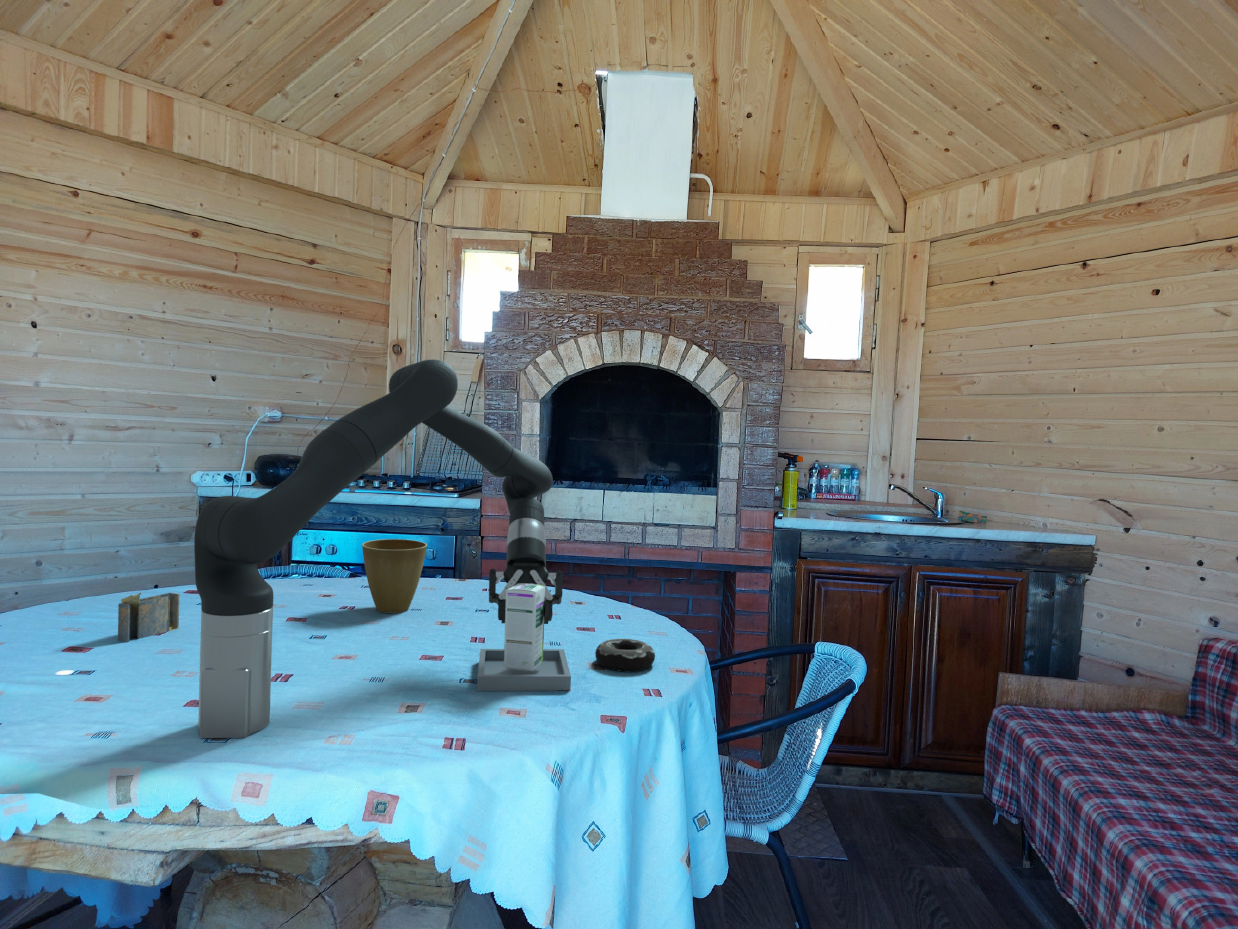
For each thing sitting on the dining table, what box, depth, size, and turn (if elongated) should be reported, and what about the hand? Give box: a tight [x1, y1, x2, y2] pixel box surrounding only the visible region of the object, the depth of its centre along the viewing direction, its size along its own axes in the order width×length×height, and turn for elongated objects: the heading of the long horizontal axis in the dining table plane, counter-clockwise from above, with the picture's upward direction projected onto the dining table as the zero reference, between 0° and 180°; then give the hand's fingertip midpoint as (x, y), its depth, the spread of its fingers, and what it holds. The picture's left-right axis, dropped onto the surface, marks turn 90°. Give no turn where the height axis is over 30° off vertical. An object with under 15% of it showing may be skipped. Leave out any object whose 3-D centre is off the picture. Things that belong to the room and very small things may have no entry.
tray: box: [476, 648, 572, 692], centre depth 136 cm, size 16×16×2 cm
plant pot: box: [361, 538, 428, 614], centre depth 178 cm, size 15×15×16 cm
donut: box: [595, 638, 656, 672], centre depth 146 cm, size 12×12×4 cm
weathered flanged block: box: [117, 592, 180, 643], centre depth 150 cm, size 11×3×10 cm, turn 162°
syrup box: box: [503, 583, 545, 671], centre depth 135 cm, size 6×6×14 cm
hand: (525, 621), depth 134 cm, fingers closed on syrup box, 7 cm apart
